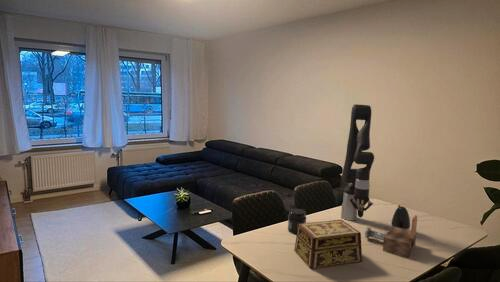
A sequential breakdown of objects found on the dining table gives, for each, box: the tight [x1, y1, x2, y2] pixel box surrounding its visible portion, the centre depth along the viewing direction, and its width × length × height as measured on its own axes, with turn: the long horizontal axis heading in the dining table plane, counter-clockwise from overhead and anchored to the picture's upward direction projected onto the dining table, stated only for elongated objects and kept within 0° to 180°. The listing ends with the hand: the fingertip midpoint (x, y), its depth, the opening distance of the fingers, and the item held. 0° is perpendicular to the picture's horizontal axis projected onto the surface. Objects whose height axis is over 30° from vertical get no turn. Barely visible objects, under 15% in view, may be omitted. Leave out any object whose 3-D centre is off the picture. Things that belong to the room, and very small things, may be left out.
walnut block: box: [382, 226, 417, 259], centre depth 168 cm, size 12×18×8 cm
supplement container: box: [287, 208, 307, 235], centre depth 187 cm, size 10×10×12 cm
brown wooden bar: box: [364, 226, 387, 241], centre depth 173 cm, size 17×6×6 cm, turn 52°
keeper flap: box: [410, 214, 418, 239], centre depth 163 cm, size 1×8×10 cm, turn 142°
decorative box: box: [293, 219, 363, 270], centre depth 157 cm, size 28×19×15 cm
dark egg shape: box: [390, 205, 411, 230], centre depth 189 cm, size 10×10×15 cm
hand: (360, 216), depth 180 cm, fingers closed
